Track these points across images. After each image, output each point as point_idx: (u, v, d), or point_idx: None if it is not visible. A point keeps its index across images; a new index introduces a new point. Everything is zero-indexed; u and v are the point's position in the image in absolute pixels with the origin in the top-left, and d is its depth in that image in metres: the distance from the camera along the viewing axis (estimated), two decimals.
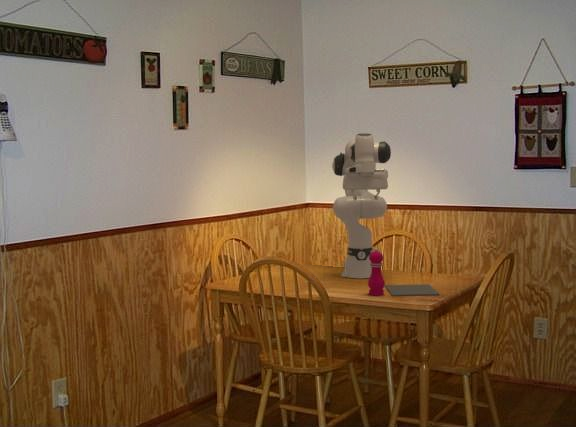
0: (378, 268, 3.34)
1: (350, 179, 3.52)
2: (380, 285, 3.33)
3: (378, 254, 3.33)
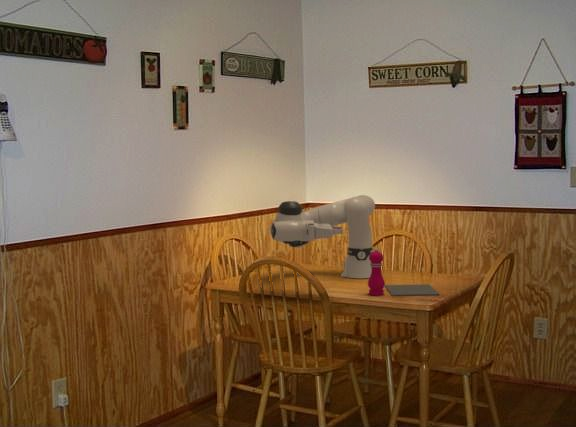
0: (378, 268, 3.34)
1: None
2: (380, 285, 3.33)
3: (378, 254, 3.33)
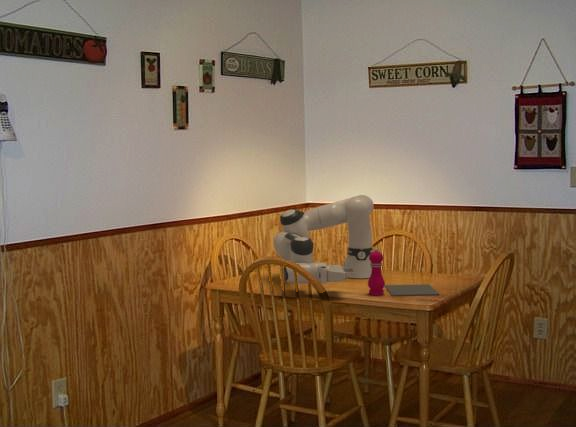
0: (378, 268, 3.34)
1: None
2: (380, 285, 3.33)
3: (378, 254, 3.33)
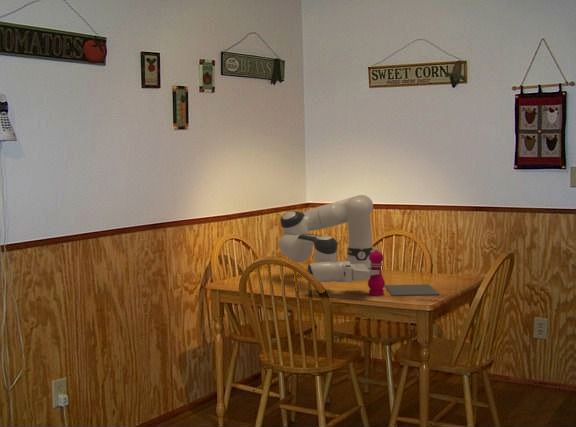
0: (378, 268, 3.34)
1: None
2: (380, 285, 3.33)
3: (378, 254, 3.33)
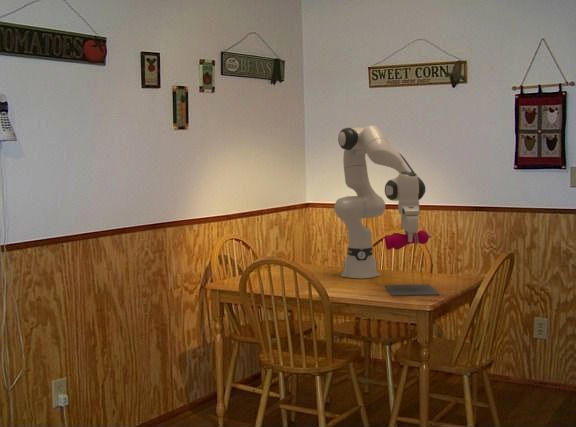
0: (412, 241, 3.39)
1: None
2: (398, 244, 3.38)
3: (427, 238, 3.39)
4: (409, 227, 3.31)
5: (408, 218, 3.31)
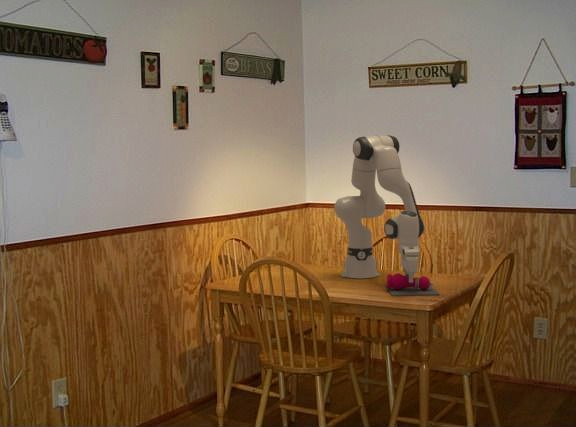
0: (413, 283, 3.40)
1: None
2: (397, 283, 3.39)
3: (428, 284, 3.39)
4: (409, 268, 3.32)
5: (408, 259, 3.32)
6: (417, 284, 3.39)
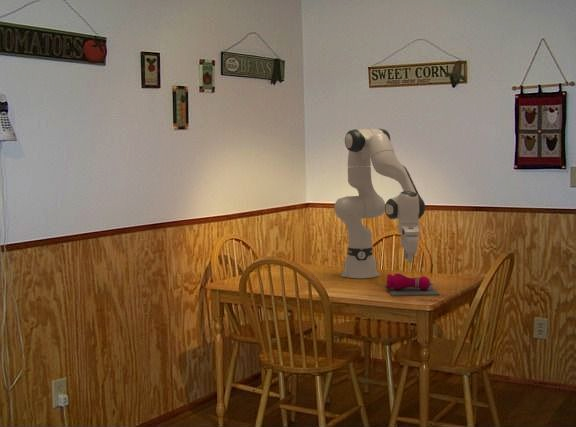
0: (413, 284, 3.39)
1: None
2: (397, 284, 3.39)
3: (428, 284, 3.38)
4: (409, 248, 3.32)
5: (408, 239, 3.32)
6: (417, 284, 3.39)
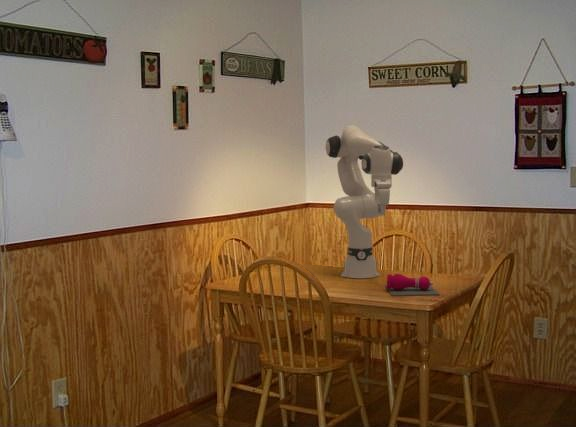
0: (413, 284, 3.39)
1: None
2: (397, 284, 3.39)
3: (428, 284, 3.38)
4: (381, 200, 3.35)
5: (380, 191, 3.36)
6: (417, 285, 3.39)
